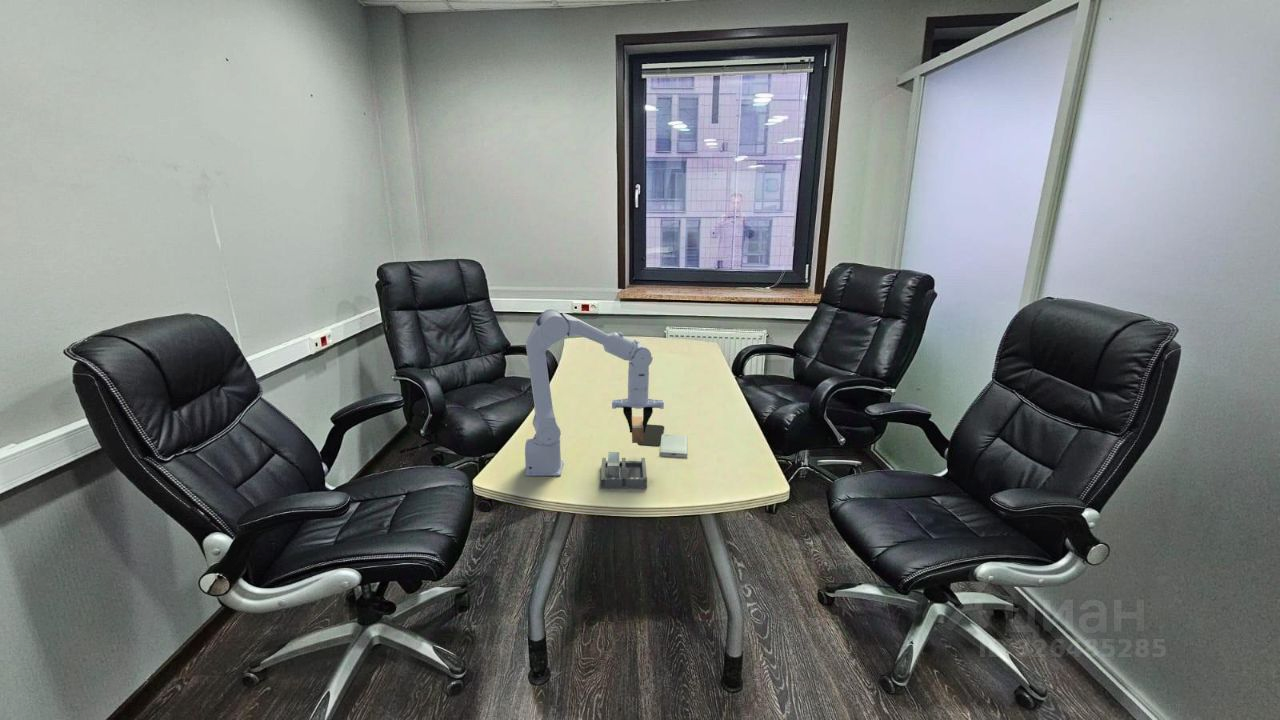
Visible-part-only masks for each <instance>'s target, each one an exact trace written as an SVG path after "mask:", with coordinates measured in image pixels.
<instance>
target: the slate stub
mask: <svg viewBox="0 0 1280 720" xmlns="http://www.w3.org/2000/svg"><path fill="white" fill-rule="evenodd" d="M607 461H608V465H607V478H619V461H620V451H608V455H607Z"/></svg>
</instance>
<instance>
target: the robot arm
mask: <svg viewBox="0 0 1280 720" xmlns="http://www.w3.org/2000/svg"><path fill="white" fill-rule="evenodd" d="M624 335H625V334H624V333H623V332H621V331H618V332H615V331H613V332H610V333H606V332H604V331H602V330H600V329H599V328H597V327H594V326H593V325H590V324H589V323H587V322H585V321H583V320H581V319H579V318H577V317H575V316H572V315H570V314H567V313H564V312H561V313H560V311H559V310H556V309H553V308H551V309H546V310H544V311H542V312H541V314H540V315H538V316H537V317H536V319H535V320H534V324H533V327H532V328H531V330H530V333H529V335H528V337H527V340H526V342H525V349H526V350H525V351H526V355H527V362H528V369H529V370H528V371H529V376H530V383H531V384H530V385H531V389H532V390H531V391H532V396H533V397H532V398H533V405H534V415H533V420H532V425H533V428H534V431H535V434H534V436H533V437H532V438H527V439H526V441H525V447H524V457H525V458H524V459H525V461H524V463H525V476H526V477H532V476H533V477H537V476H539V477H540V476H542V477H543V476H544V477H545V476H550V477H551V476H554V477H555V476H557V477H559V476H561V475H562V471H563V467H564V460H561V434H562V433H561V429H560V427H559V425H558V423H557V420H556V419H557V418H556V416H555V413H554V408H553V402H552V393H551V386H550V380H549V379H550V378H549V371H548V370H549V369H548V363H547V362H548V361H547V356H546V355H547V354H546V352H547V350H549V348H550V347H551V346H552V345H554V344H556V343H558V342H560V341H562V340H563V339H564V338H565V337H566V336H567V337H568V338H571V337H575V336H580V337H583V338H586V339H588V340H590V341H593V342H595V343H598V344H599V345H602V347H603V350H604V351H605V352H606V353H608V354H609V355H610V354H611V356H612V355H613V356H615V357H617V358H619V359H621V360H624V361H628V370H627V371H628V374H627V375H628V376H627V380H628V381H627V398H620V399H612V400H611V409H615V410H616V409H622V411H623V415H624V417H625V419H626V421H627V424H628V427H629V429H628V430H629V433H631V434H632V417H633V409H635V410H640V409H641V410H642V412H643V414H642V420H643V427H644V431H643V433H645V429H646V426H647V424H649V420H650V418H651V416H652V415H653V411H654V410H653V409H660V410H664V408H665V406H664V405H665V401H664V399H653V398H649V379H650V372H649V369H650V366H651V364H652V363H653V356H652V353H651V350H649V348H647V347H646V346H645V345H643V344H642V343H641V342H639V341H638V340H636V339H634V340H632V339H630V338H628V337H626V336H624Z"/></svg>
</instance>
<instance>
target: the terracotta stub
mask: <svg viewBox="0 0 1280 720" xmlns="http://www.w3.org/2000/svg"><path fill="white" fill-rule="evenodd" d="M643 431H644V427H643V416H632V433H631V443H632V444H638V443H643Z"/></svg>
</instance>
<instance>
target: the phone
mask: <svg viewBox="0 0 1280 720" xmlns="http://www.w3.org/2000/svg"><path fill="white" fill-rule="evenodd" d="M664 432H665V425H661V424H649V423H647V426H646V429H645V433H643V443H637V445H638V446H646V447H649V446H650V447H660V445H661V436H662V434H665V433H664Z"/></svg>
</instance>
